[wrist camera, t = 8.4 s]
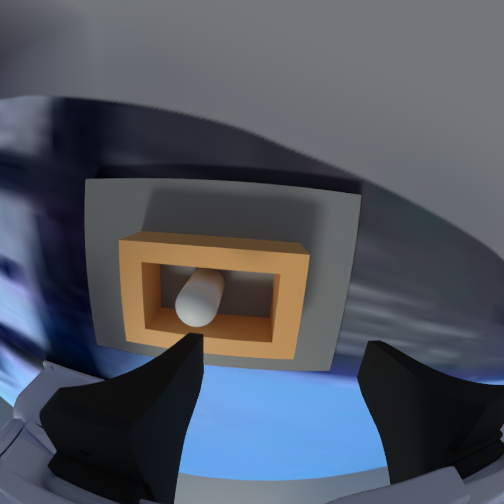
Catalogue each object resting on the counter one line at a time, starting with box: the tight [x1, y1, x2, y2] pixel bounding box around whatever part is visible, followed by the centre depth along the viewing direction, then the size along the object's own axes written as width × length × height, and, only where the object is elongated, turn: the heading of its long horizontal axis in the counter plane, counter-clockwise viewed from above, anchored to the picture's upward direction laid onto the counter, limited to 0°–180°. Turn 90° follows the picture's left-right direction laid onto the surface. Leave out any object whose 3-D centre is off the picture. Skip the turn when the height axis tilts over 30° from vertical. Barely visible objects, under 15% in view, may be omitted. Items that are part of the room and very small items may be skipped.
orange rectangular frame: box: [119, 231, 310, 359], centre depth 17 cm, size 11×7×4 cm, turn 85°
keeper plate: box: [85, 178, 361, 371], centre depth 17 cm, size 20×14×6 cm
